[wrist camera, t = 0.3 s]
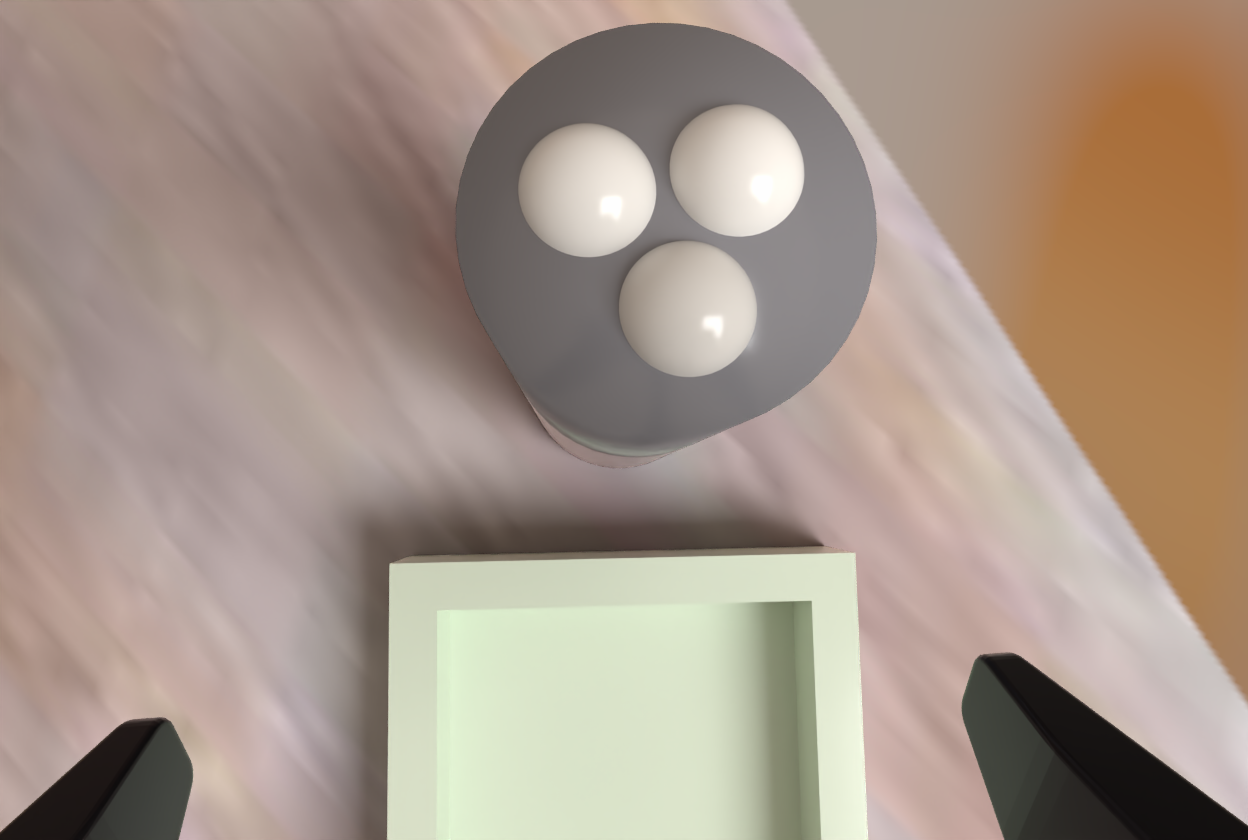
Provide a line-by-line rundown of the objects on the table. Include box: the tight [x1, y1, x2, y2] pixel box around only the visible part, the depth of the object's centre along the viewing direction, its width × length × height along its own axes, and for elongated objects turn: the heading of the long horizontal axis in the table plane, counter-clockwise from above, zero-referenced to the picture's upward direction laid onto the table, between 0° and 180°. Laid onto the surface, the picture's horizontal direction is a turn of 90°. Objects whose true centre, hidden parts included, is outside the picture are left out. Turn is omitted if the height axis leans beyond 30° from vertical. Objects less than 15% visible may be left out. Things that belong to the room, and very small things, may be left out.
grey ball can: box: [456, 23, 877, 468], centre depth 16 cm, size 5×5×14 cm
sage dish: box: [387, 546, 868, 840], centre depth 21 cm, size 12×12×2 cm
